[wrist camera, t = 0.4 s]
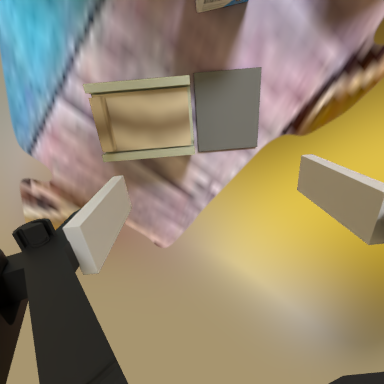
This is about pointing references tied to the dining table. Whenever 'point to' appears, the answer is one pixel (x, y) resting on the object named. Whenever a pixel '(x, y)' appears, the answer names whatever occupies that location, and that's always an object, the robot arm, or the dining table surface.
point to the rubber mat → (227, 108)
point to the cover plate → (142, 119)
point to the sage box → (144, 86)
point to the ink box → (214, 4)
